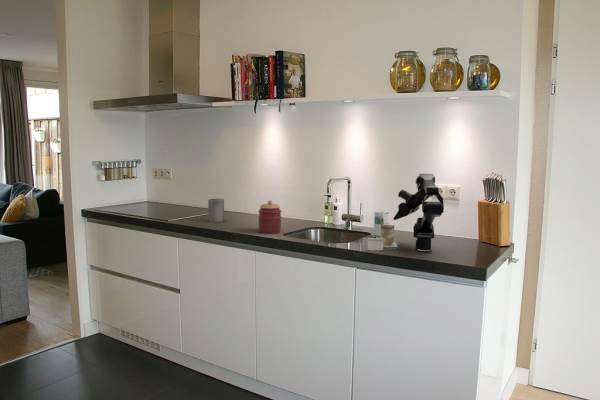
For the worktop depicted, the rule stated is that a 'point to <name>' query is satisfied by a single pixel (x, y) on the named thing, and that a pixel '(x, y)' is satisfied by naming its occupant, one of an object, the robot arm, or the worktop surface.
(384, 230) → the oak block
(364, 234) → the worktop surface
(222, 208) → the pillar candle
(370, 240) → the screen
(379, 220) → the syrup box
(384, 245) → the display pad
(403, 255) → the worktop surface
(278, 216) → the canister
